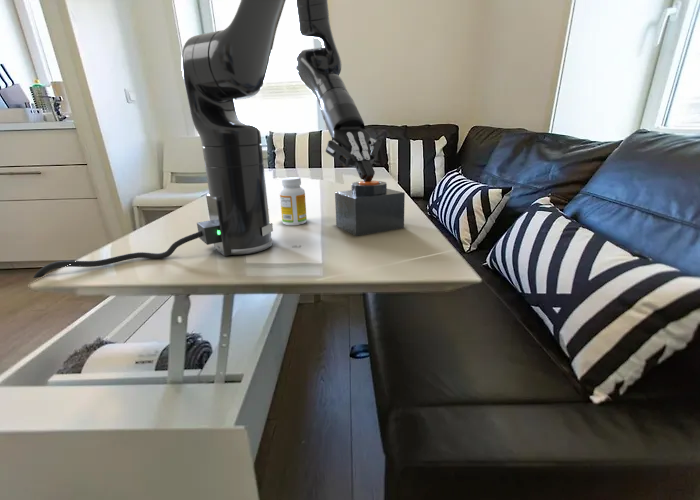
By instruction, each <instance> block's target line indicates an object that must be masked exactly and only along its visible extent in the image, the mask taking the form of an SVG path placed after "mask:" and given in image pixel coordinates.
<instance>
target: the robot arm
mask: <svg viewBox="0 0 700 500" xmlns="http://www.w3.org/2000/svg"><path fill="white" fill-rule="evenodd" d="M293 1H294V9H295V14H296V15H295V16H296V23H297V29H298V32H299V34H300V35H301V36H303V37H305V38H314V39H318V40H319V41H320V42H321V45H322V47H314V48H307V49H303V50H301V51H299V52H298V54H297V55H296V57H295V62H294V63H295V65H294V66H295V70H296V74H297V76H298V77H299V78H298V79H300V81H301V82H302V83H303V85H304V86H305V87H306V88H307V89H308V90H309V91H310V92H311V93H312V95H314V97H315V98H316V101H317V103H318V105H319V109H320V112H321V116H322V119H323V121H324V123H325V126H326V128H327V130H328V132H329V136H330V137H331V139H330V140H328V141H327V145H326V147H325V153H327V154H328V155H329V156H331V157H332V158H333V159H335V160H337V161H338V162H339V163H341V164H342V165H344V167H345V166H346V167H350V166H351V167H353V168H354V169H355V170H356V173H357V174H358V176H359V178H360V179H361V180H362V181H364V182H367V181H371V180H373V178H374V176H375V175H376V174H375V173H376V172H375V171H376V170H374V166H373V164H374V161H375V160H376V158H377V155H378V153H379V152H380V151H379V150H380V149H381V146H382V143H383V139H382V138H379V137H377V138H376V139H375V138H372V137H371V134H370V133H369V132H368V131H367V130H366V127H365V122H364V120H363V117H362V116H361V113H360V111H359V109H358V107H357V105H356V103H355V101H354V99H353V97H352V96H351V94H350V93H349V90H348V89H347V87H346V85H345V83H344V80H343V79H342V77H341V76H340V74H341V72H342V60H341V56H340V53H339V51H338V48H337V45H336V42H335V38H334V36H333V31H332V28H331V27H332V26H331V20H330V12H329V11H330V10H329V3H328V2H329V1H328V0H293ZM285 4H286V0H240V3H239V5H238V7H237V10H236V12H235V15H234V17H233V19H232V20H231V22H230V24H229V25H227V27H226V28H224V29H222V30H214V31H210V32H205V33H201V34H200V33H199V34H196V35H193V36H191V37H189V38H188V39H187V40H186V41H185V43H184V45H183V48H182V52H181V71H182V77H183V82H184V89H185V93H186V96H187V102H188V106H189V111H190V116H191V120H192V123H193V126H194V129H195V130H196V132H197V134H198V136H199V138H200V142H201V143H200V144H201V146H202V147H201V148H202V154H203V155H202V156H203V162H204V168H205V174H206V180H207V187H208V193H207V194H206V195H205V198H206V204H207V211H208V216H209V220H204V221H199V222H196V227H197V232H195V233H192V234H189V235H186V236H184V237H181V238H179V239H177V240H175V242H173V243H172V244H171V245H170V246H169V248H168V249H167V250H166V251H163V252H159V253H155V252H147V251H145V252H143V251H142V252H140V251H139V252H131V253H126V254H121V255H117V256H112V257H107V258H104V259H103V258H102V259H98V260H59V261H54V262H50V263H48V264H46V265H43V267H41V268H40V269H39V270H37V271H36V273H35V274H34V275H33V279H37V278H42V277H44V276H45V275H46V274H47V273H49V272H50V271H52V270H55V269H58V268H67V267H68V268H72V267H73V268H75V267H76V268H94V267H96V268H97V267H102V266H107V265H111V264H116V263H120V262H125V261H128V260H135V259H152V260H160V259H165V258H168V257H170V256H171V255H172V254H173V253H174V252H175V251H176V250H177V248H179V247H180V246H182V245H184V244H186V243H189V242H191V241H194V240H197V239H200V240H201V241H202V242H203V243H204V244H205V245H207V246H209V245H213V248H214V249H215V250H217V252H218V253H220V254H221V255H222V256H224V257H228V256H234V255H236V256H237V255H238V256H240V255H249V254H255V253H259V252H262V251H264V250H267V249H269V248H270V247H271V246H273V237H272V232H273V231H274V226H273V222H270V214H269V204H268V203H269V202H268V193H267V183H266V175H265V165H264V156H263V155H264V153H263V146H262V143H263V142H262V135H261V129H260V128H259V127H258V126H257V125H255V124H253V123H251V122H249V121H247V120H245V119H243V117H242V116H240V115H239V113H238V110H237V106H236V102H235V100H245V99H246V100H247V99H250V98H253V97H255V96H256V95H257V94H258V93H259V92H260V91H261V89H262V88H263V86H264V83H265V81H266V78H267V74H268V70H269V65H270V62H271V57H272V53H273V52H272V51H273V49H274V48H273V47H274V42H275V38H276V34H277V29H278V27H279V23H280V19H281V18H282V17H281V16H282V14H283V10H284V7H285ZM368 146H369V147H368ZM369 150H370V154H369ZM75 261H76V262H75ZM69 264H71V265H69ZM67 265H68V266H67ZM65 266H66V267H65Z"/></svg>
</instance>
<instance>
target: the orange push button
mask: <svg viewBox="0 0 700 500" xmlns="http://www.w3.org/2000/svg"><path fill="white" fill-rule="evenodd" d="M379 181H380V180H373V179H372V180H371V181H367V182H364V181H363V180H360V181H358V182H359V185H376V184H379Z"/></svg>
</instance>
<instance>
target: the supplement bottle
mask: <svg viewBox="0 0 700 500" xmlns="http://www.w3.org/2000/svg"><path fill="white" fill-rule="evenodd" d="M281 185H282V186H283V187H282V188H281V189H280V191H279V200H280V211H281V221H282V224H283V225H286V226H298V225H299V226H300V225H303V224H305V223H307V221H308V220H307V219H308V218H307V203H306V191H305V189H304V188H303V187H301V185H302V178H301V177H299V176H298V177H297V176H293V177H292V176H291V177H289V176H288V177H283V178H281Z"/></svg>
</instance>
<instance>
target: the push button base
mask: <svg viewBox="0 0 700 500" xmlns="http://www.w3.org/2000/svg"><path fill="white" fill-rule="evenodd" d="M378 181H379V184H376V185H359V182H360V181H354V182H351V190H350V189H349V190H340V191H334V199H335V201H334V203H335V226H336V227H338V228H340V229H342V230H344V231H345V232H347V233H349V234H351V235H353V236H356V237H358V236H359V237H361V236H364V235H370V234H377V233H382V232H388V231H393V230H395V231H396V230H399V229H405V204H406V203H405V198H406V197H405V192H404V191H399V190H395V189H391V188H387V185H388V184H387V182H386V181H381V180H378Z"/></svg>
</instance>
